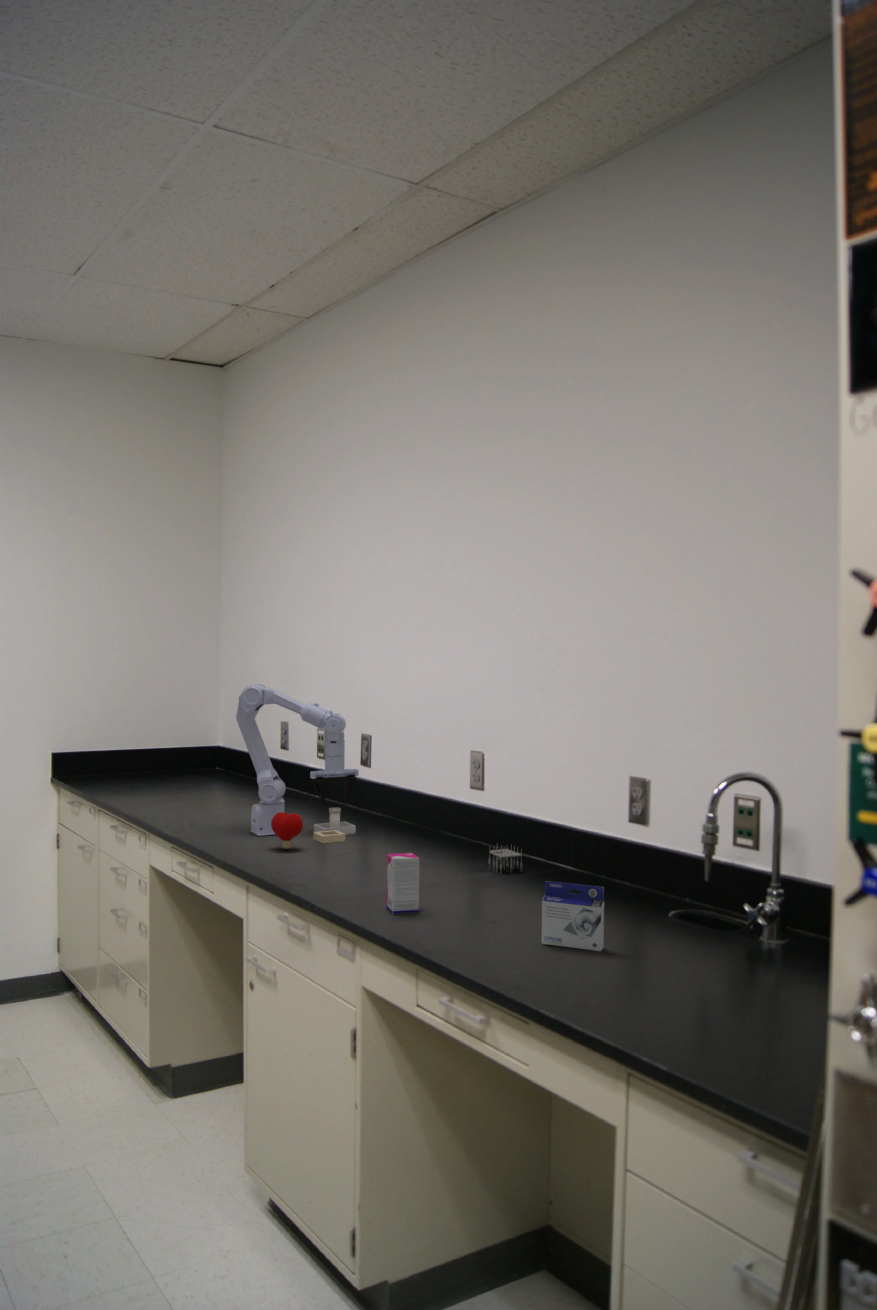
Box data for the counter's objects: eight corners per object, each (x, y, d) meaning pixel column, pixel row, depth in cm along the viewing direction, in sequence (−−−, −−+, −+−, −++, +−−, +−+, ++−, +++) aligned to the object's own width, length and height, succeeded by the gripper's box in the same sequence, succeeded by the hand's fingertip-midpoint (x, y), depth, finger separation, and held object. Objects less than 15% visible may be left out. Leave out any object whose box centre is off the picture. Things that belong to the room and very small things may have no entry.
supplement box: (419, 912, 202) (420, 857, 202) (392, 914, 201) (392, 859, 201) (412, 905, 208) (412, 851, 208) (385, 907, 206) (385, 853, 206)
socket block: (322, 843, 272) (322, 836, 272) (313, 839, 278) (313, 832, 278) (345, 841, 275) (345, 834, 275) (336, 836, 281) (336, 829, 281)
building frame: (500, 875, 236) (500, 850, 236) (485, 868, 243) (485, 844, 243) (522, 872, 238) (522, 848, 238) (507, 865, 246) (507, 842, 245)
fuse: (331, 833, 284) (331, 809, 284) (327, 831, 287) (327, 807, 287) (342, 832, 285) (342, 808, 285) (338, 830, 288) (338, 806, 288)
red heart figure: (308, 848, 265) (308, 812, 265) (294, 853, 258) (294, 816, 258) (280, 845, 269) (280, 809, 268) (265, 850, 262) (265, 813, 262)
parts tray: (323, 837, 281) (323, 828, 281) (313, 832, 288) (313, 824, 288) (355, 834, 285) (355, 825, 285) (345, 829, 292) (345, 821, 292)
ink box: (540, 945, 180) (540, 883, 180) (543, 941, 183) (544, 880, 183) (602, 952, 176) (602, 889, 176) (604, 948, 179) (605, 886, 178)
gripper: (316, 758, 279) (316, 805, 279) (362, 755, 286) (362, 801, 286) (307, 755, 286) (307, 801, 286) (353, 753, 292) (353, 798, 292)
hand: (334, 801), depth 286 cm, fingers open, 7 cm apart
